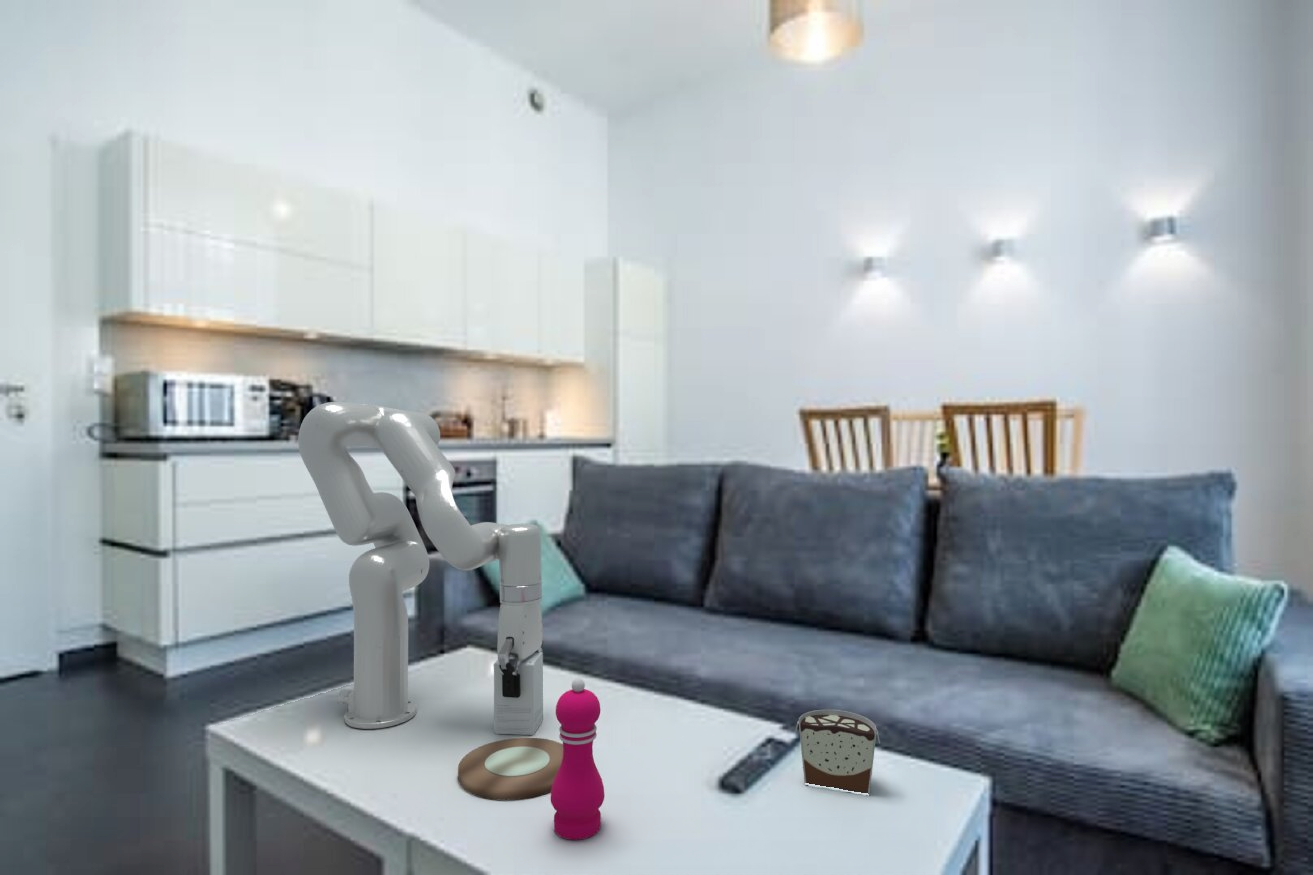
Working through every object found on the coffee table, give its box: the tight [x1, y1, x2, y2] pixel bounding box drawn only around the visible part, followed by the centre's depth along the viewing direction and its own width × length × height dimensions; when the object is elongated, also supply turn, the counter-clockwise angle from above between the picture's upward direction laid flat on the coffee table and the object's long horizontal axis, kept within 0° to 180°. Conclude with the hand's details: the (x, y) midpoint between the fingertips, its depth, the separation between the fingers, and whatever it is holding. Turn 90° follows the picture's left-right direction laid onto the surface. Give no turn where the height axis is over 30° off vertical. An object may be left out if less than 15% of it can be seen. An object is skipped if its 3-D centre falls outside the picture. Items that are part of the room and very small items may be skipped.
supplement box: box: [493, 652, 544, 736], centre depth 129 cm, size 7×7×13 cm
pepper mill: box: [550, 677, 605, 841], centre depth 96 cm, size 7×7×20 cm
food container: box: [795, 709, 881, 795], centre depth 109 cm, size 12×6×10 cm, turn 71°
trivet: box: [457, 737, 563, 801], centre depth 112 cm, size 18×18×2 cm
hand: (523, 687), depth 129 cm, fingers open, 9 cm apart
